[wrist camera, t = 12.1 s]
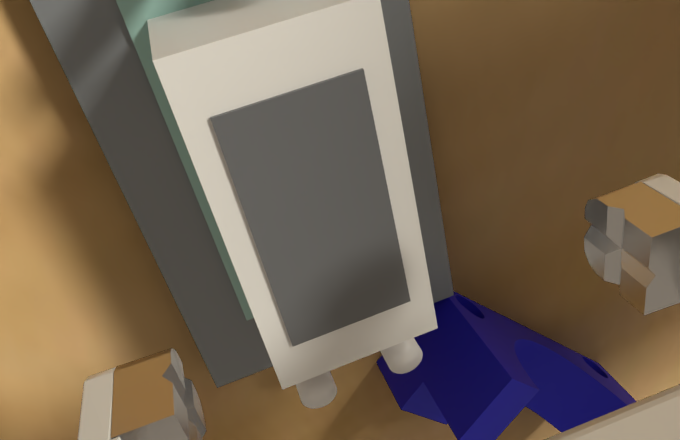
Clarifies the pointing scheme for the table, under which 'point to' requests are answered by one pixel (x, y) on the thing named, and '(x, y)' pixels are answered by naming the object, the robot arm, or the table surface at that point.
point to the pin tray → (185, 187)
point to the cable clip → (499, 375)
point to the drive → (302, 171)
